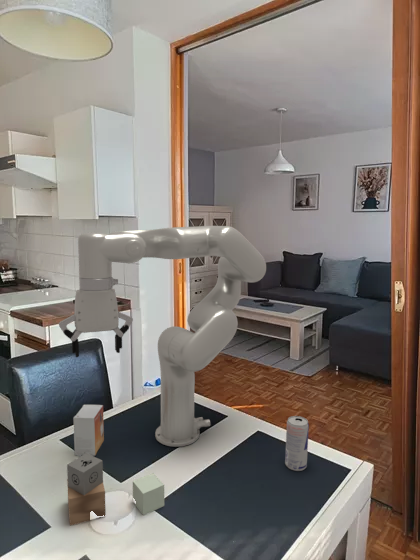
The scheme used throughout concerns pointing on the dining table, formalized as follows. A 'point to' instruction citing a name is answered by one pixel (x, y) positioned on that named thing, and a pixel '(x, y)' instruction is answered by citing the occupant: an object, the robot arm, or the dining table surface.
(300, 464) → the energy drink
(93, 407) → the small box
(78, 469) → the dice cube
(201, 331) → the robot arm
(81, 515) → the walnut block
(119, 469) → the dining table surface
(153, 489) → the sage block
